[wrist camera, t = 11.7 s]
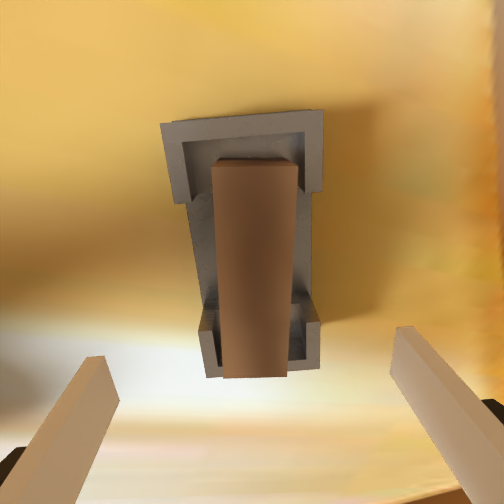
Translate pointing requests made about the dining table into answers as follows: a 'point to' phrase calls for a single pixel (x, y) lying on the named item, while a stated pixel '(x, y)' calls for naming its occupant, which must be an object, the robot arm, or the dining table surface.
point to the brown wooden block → (254, 262)
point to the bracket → (202, 210)
